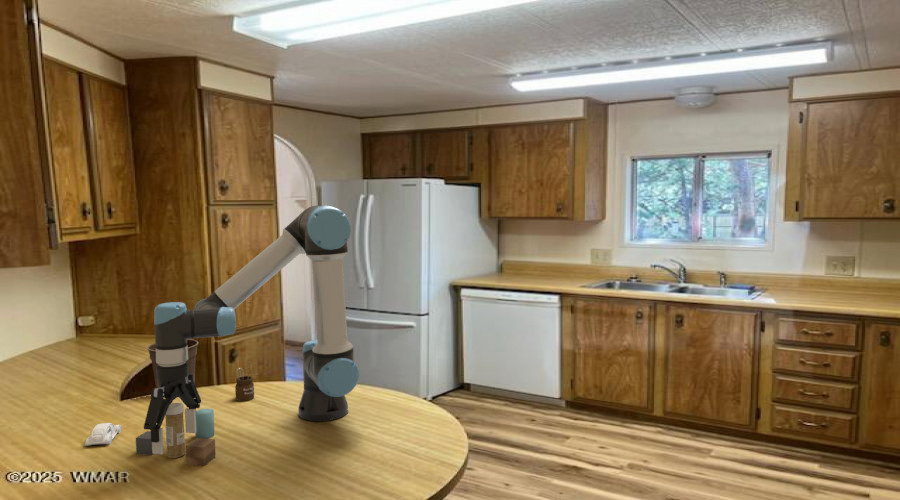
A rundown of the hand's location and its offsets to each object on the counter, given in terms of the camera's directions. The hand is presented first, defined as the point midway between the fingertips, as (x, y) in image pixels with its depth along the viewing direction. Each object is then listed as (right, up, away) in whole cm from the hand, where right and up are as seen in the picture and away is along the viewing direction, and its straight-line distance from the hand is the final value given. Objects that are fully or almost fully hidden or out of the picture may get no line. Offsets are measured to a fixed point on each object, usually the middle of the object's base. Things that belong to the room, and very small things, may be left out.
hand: (175, 442), depth 157 cm
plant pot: (-25, +1, +54) cm, 59 cm away
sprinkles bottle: (0, -4, 0) cm, 4 cm away
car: (-25, -3, +11) cm, 27 cm away
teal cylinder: (+2, -2, +13) cm, 13 cm away
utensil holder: (+3, 0, +44) cm, 44 cm away
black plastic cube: (-8, -3, +3) cm, 9 cm away
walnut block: (+8, -4, -3) cm, 9 cm away
